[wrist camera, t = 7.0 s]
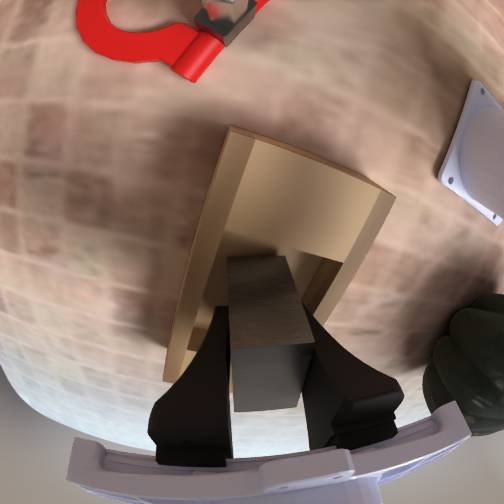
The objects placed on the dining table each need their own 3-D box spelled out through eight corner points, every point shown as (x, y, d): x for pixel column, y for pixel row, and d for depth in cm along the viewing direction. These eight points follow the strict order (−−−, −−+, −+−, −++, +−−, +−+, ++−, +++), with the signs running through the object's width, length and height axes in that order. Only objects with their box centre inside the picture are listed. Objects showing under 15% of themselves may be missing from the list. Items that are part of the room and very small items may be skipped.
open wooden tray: (368, 178, 14) (396, 197, 12) (266, 366, 22) (271, 396, 19) (229, 125, 12) (230, 131, 10) (167, 349, 20) (162, 381, 17)
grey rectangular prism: (284, 255, 15) (314, 342, 10) (278, 324, 17) (296, 407, 12) (226, 257, 14) (230, 348, 9) (229, 326, 17) (234, 412, 12)
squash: (381, 425, 20) (480, 480, 12) (480, 298, 14) (589, 378, 6) (415, 352, 31) (491, 399, 23) (473, 253, 24) (557, 310, 16)
